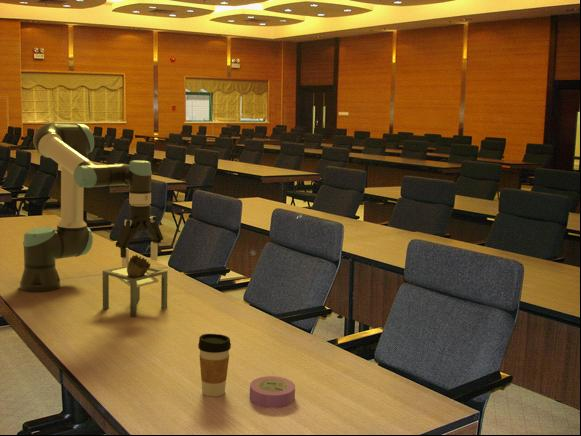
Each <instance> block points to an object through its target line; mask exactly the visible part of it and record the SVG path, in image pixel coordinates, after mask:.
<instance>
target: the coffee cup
mask: <svg viewBox="0 0 581 436" xmlns="http://www.w3.org/2000/svg"><path fill="white" fill-rule="evenodd" d="M198 339H199V341H198V344H197V346H198V347H197V348H198V349H199V365H200V375H201V376H200V378H201V379H200V380H201V392H202V394H203V395H205V396H206V397H212V398H213V397H220V396H222V395H224V394H225V392H226V384H227V375H228V369H229V361H230V354H229V353H230V350H231V346H232V343H231V339H230V337H229V336H227V335H223V334H217V333H203V334H201V335H199V338H198Z"/></svg>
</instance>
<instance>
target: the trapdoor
mask: <svg viewBox="0 0 581 436" xmlns="http://www.w3.org/2000/svg"><path fill="white" fill-rule="evenodd" d="M111 272H115V273H119V274H123V275H127V276H128V273H127V268H123V269H118V270H114V271H111ZM146 274H150V273H149V272H148V271H147V272H146V273H145V275H146ZM117 279H118V280H119V281H121V282H122V283H124V284H125V285H127V286H129V287H130V281H129V280H125V279H121V278H117ZM157 283H159V279H158V278H157V277H156V276H155V277H151V278H146V279H142V280H138V281H137V287H140V288H141V287H144V286H147V285H153V284H157Z"/></svg>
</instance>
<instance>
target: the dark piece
mask: <svg viewBox="0 0 581 436" xmlns="http://www.w3.org/2000/svg"><path fill="white" fill-rule="evenodd" d="M149 267H151V263H150V261H149V260H148V261H147V259H146V258H145V257H142V256H138V255H137V254H135V255H132V257H129V267H127V273H128V276H131V277H137V276H143V275H145V273H146V272H148V271H149V270H148V269H149Z"/></svg>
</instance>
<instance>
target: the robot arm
mask: <svg viewBox="0 0 581 436" xmlns="http://www.w3.org/2000/svg"><path fill="white" fill-rule="evenodd" d="M32 139H33V140H32V141H33V143H32V144H33V146H34V148H35V150H36V151H37V152H38V153H39V154H40V155H42V156H43V157H44V158H50V159H52V160H53V161H54V162H55V163H57V164H58V165H59V166H60V167H61V168H60V169H61V170H60V171H61V172H60V174H61V175H60V183H61V184H60V221H58V222H57V223H56V229H55V227H52V226H44V227H42V226H40V227H35V228H32V229H28V230H27V231H26V232H25V233H24V234H23V242H22V243H23V244H22V245H23V265H24V268H23V272H22V275H21V279H20V281H19V289H20V290H22V291H26V292H32V293H34V292H35V293H37V292H48V291H53V290H56V289H59V288H60V287H61V278H60V275H59V273H58V271H57V268H56V267H57V266H56V260H60V259H61V260H62V259H67V258H73V257H74V258H75V257H76V258H77V257H82V256H85V255H87V254H88V253H89V252H90V251H91V249H92V248H93V247H92V246H93V242H94V241H93V240H94V236H93V233H92V230H91V228H90V227H88V225H87V222H86V221H85V220H84V190H85V189H84V188H87V189H89V188H99V187H115V186H127V187H128V186H129V187H128V188H129V189H128V190H129V191H128V192H129V193H128V194H129V196H128V200H129V202H128V203H129V204H130V205H129V210H128V213H129V216H130V219H123V220H122V227H121V229H120V232H119V234H118V237H117V238H116V239H117V240H116V242H115V247H116V248H119V249H120V258H121V267H123V266H124V267H129V261H130V257H129V256H130V255H129V254H130V250H129V248H128V246H129V245H130V243H131V242H132V240H133V238H134V237H135V235H136V234H137V233H138V232H141V231H145V233H146V234H147V235H148V237H149V238H150V239H151V242H150V260H151V261H154V262H155V261H156V262H158V252H159V248H160V247H159V245H160V244H161V243H162V241H163V240H164V237H163V234H162V232H161V229H160V227H159V224H158V218H157V216H155V215H152V206H151V204H152V173H153V172H152V165H151V164H152V163H151V161H148V160H142V159H141V160H136V159H135V160H130V161H129V164H127V163H123V162H121V163H116V162H115V163H113V164H95V163H94V162H92V161H91V160H90V159H89V154H90V153H92V152H93V150H94V148H95V138H94V134H93V132H92V130H91V129H90V127H89V126H88V125H87V124H83V123H74V122H73V123H52V122H51V123H45V124H44V125H41V126H40V127H38V128H37V130H36V131H35V133H34V135H33V138H32Z"/></svg>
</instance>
